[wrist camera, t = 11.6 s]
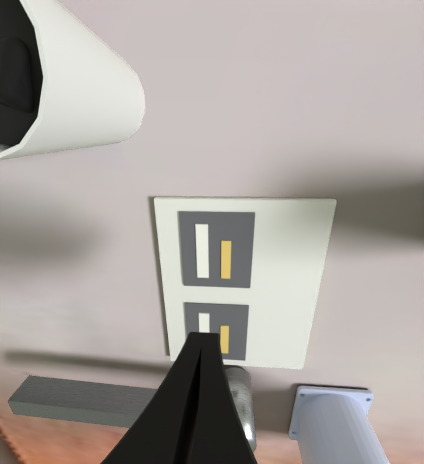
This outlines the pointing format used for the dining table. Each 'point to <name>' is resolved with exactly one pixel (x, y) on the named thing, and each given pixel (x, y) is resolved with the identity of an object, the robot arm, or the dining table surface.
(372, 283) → the dining table surface
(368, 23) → the dining table surface
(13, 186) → the dining table surface
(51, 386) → the swing arm
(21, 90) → the white tumbler
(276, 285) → the label board
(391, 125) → the dining table surface
